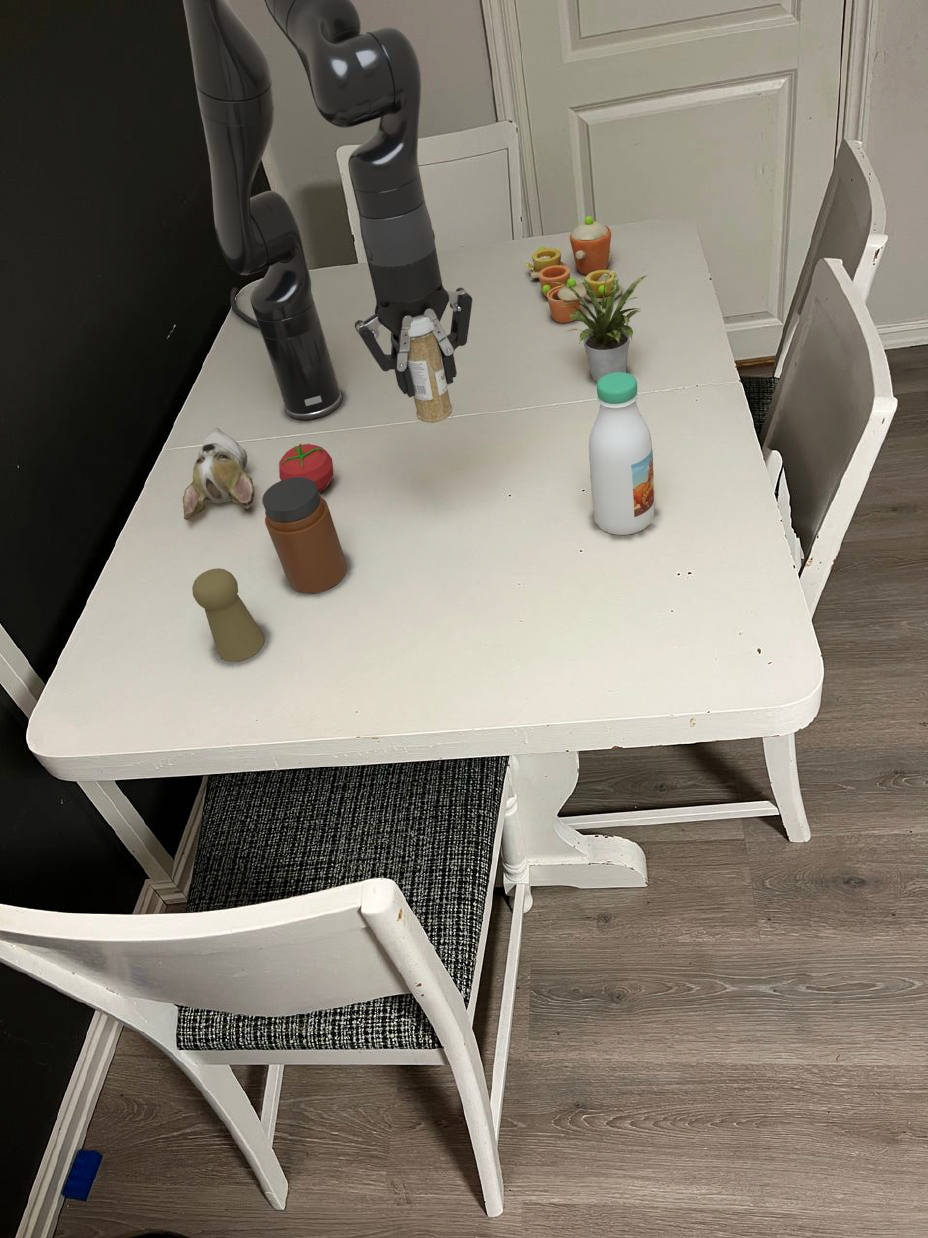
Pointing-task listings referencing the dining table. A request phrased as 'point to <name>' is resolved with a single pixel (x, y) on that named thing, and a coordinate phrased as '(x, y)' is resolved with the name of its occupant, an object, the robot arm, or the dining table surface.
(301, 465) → the tomato
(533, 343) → the dining table surface
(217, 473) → the ceramic sculpture
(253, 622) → the cork
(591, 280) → the toy tea set
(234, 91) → the robot arm
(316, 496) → the amber bottle
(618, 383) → the milk bottle
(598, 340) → the house plant
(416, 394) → the spice jar
